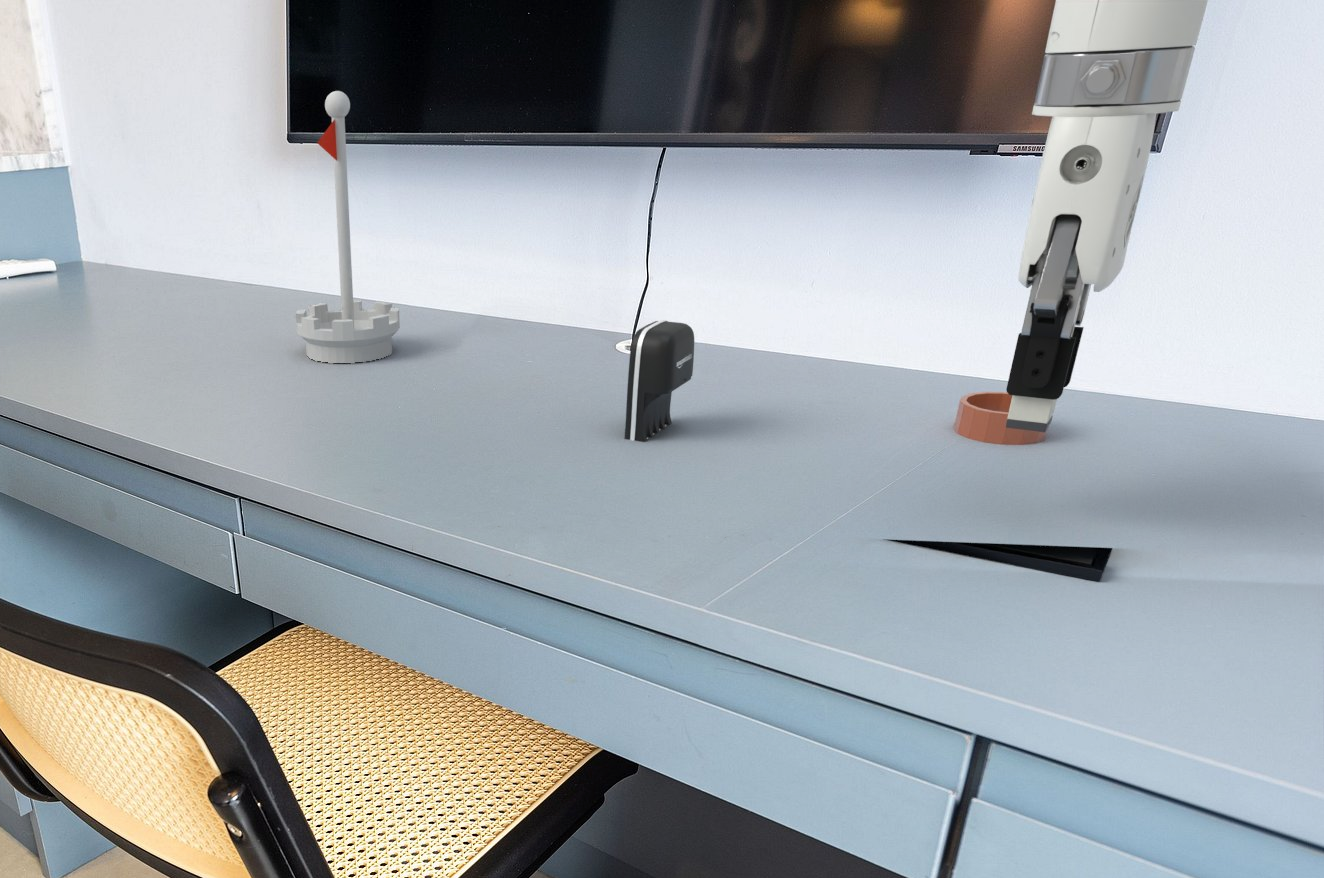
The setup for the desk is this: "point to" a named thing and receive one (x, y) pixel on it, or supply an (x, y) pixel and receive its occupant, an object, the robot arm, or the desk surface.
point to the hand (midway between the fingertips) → (1037, 388)
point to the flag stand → (345, 276)
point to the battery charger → (656, 375)
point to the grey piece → (1031, 411)
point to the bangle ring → (991, 420)
